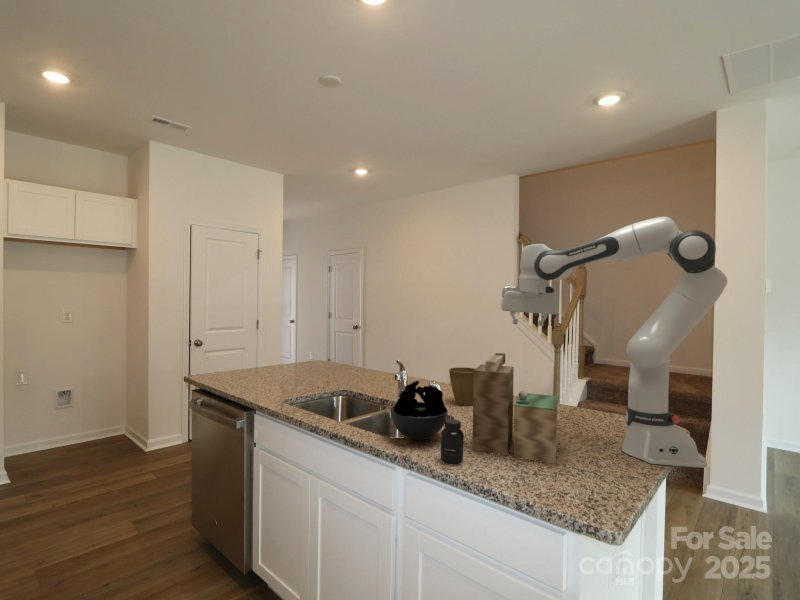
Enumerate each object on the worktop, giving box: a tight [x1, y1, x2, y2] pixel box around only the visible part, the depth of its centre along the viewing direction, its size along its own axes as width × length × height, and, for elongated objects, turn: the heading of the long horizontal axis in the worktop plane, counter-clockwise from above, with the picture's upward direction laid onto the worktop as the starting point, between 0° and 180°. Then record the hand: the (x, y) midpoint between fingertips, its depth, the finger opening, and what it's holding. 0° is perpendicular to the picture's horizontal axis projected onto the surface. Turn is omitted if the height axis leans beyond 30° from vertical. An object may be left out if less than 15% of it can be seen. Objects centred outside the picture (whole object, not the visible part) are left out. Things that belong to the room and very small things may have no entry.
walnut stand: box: [471, 364, 514, 456], centre depth 137 cm, size 11×13×26 cm
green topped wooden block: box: [513, 390, 558, 465], centre depth 134 cm, size 12×18×19 cm, turn 158°
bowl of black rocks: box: [389, 380, 448, 441], centre depth 145 cm, size 20×20×19 cm
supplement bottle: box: [440, 418, 465, 465], centre depth 125 cm, size 7×7×12 cm
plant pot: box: [448, 366, 476, 407], centre depth 193 cm, size 15×15×16 cm
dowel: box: [484, 352, 506, 372], centre depth 141 cm, size 3×22×3 cm, turn 158°
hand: (527, 324), depth 154 cm, fingers open, 8 cm apart
